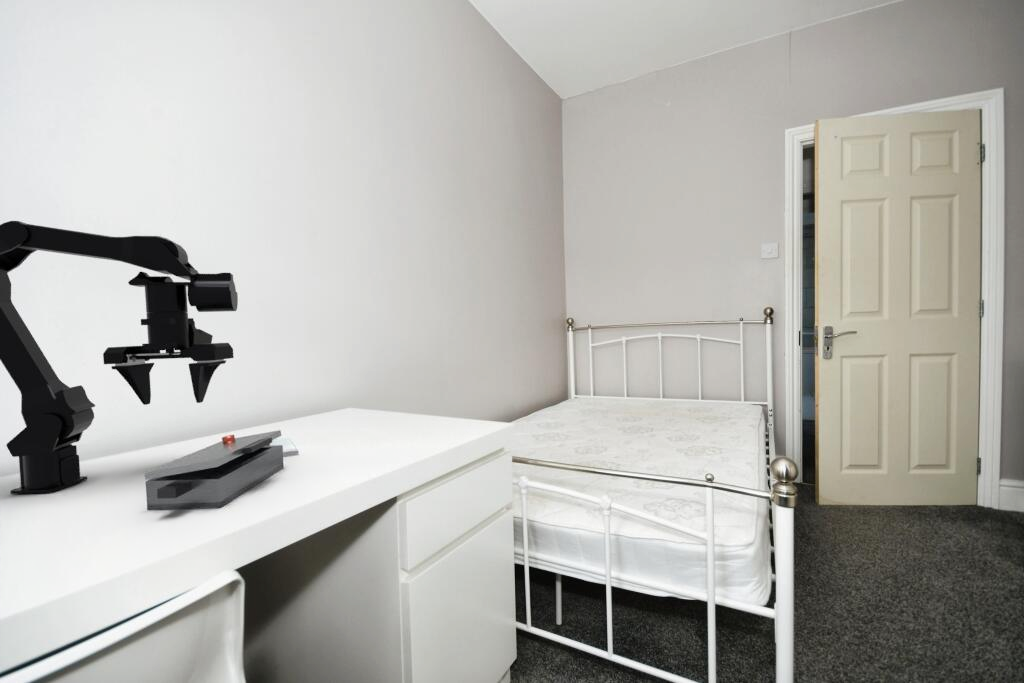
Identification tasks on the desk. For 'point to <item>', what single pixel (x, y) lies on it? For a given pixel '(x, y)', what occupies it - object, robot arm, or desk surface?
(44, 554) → the desk surface
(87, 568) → the desk surface
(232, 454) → the box lid
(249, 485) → the grey hinged box
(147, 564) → the desk surface
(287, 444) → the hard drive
